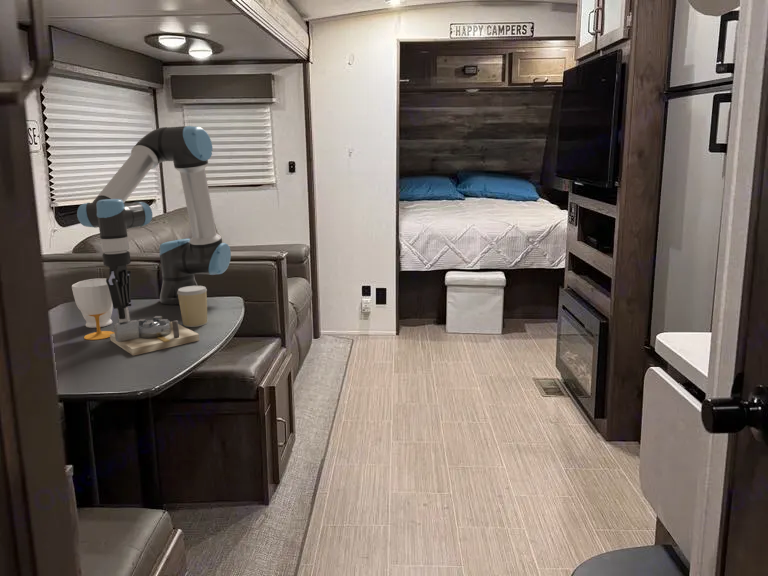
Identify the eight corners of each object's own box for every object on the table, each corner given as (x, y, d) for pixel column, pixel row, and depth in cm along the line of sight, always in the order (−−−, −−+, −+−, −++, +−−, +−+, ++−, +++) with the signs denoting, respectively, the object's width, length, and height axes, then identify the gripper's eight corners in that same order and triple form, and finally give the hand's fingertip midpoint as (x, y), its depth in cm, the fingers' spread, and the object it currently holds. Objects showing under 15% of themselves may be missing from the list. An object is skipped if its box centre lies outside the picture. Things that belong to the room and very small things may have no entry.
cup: (90, 331, 211) (82, 279, 208) (125, 330, 211) (118, 278, 207) (72, 342, 200) (64, 288, 196) (109, 341, 200) (102, 287, 196)
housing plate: (173, 327, 212) (171, 306, 211) (200, 340, 197) (197, 318, 195) (109, 340, 200) (106, 319, 198) (131, 356, 184) (128, 332, 183)
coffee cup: (200, 318, 222) (197, 284, 220) (215, 323, 216) (211, 287, 213) (175, 324, 216) (171, 289, 213) (189, 329, 209) (185, 293, 207)
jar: (103, 329, 212) (97, 284, 209) (75, 328, 215) (68, 284, 211) (122, 320, 223) (116, 278, 219) (95, 320, 225) (89, 277, 221)
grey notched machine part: (163, 326, 205) (162, 311, 204) (176, 333, 197) (174, 317, 196) (111, 337, 195) (109, 321, 194) (122, 344, 188) (120, 328, 186)
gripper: (112, 248, 199) (121, 322, 204) (93, 255, 186) (103, 334, 192) (136, 247, 199) (145, 322, 204) (119, 255, 186) (129, 334, 191)
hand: (125, 328), depth 198 cm, fingers closed
